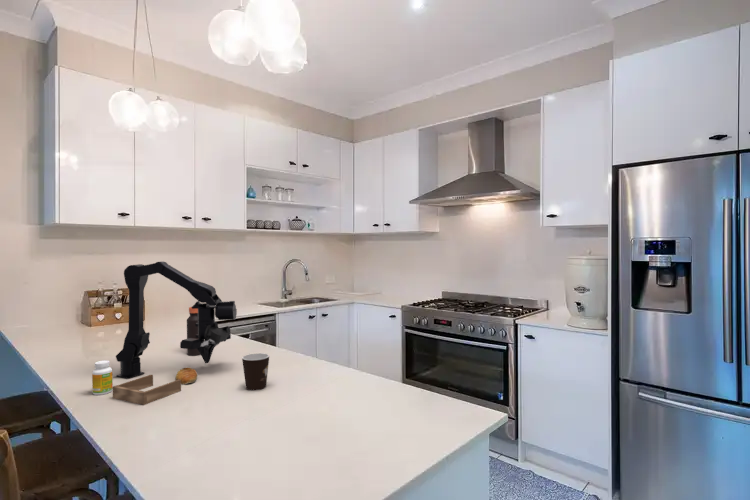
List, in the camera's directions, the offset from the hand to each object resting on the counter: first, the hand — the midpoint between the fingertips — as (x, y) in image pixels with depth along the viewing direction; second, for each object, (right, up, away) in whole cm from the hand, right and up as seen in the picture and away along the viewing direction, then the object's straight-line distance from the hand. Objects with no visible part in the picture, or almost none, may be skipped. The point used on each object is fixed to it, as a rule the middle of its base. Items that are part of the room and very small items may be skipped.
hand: (206, 362), depth 153 cm
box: (-10, -4, -21) cm, 24 cm away
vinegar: (-15, -3, +26) cm, 31 cm away
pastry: (-4, -4, -8) cm, 10 cm away
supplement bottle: (-25, -4, -20) cm, 32 cm away
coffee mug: (+23, -4, -14) cm, 28 cm away
